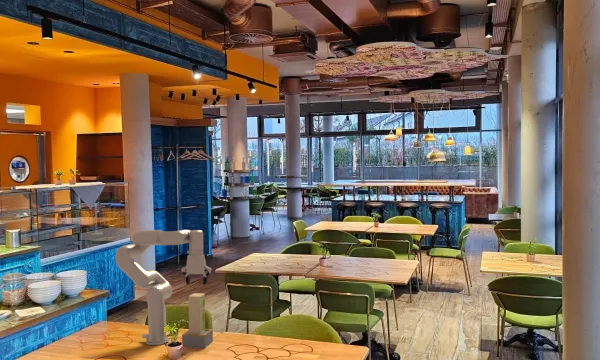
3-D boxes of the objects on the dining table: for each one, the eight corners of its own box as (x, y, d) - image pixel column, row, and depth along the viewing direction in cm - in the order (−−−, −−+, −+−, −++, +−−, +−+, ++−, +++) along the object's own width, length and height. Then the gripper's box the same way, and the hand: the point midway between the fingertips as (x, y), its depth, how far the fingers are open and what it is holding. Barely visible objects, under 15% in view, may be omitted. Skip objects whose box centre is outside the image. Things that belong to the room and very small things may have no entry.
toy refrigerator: (201, 335, 278) (200, 296, 279) (188, 335, 280) (188, 296, 280) (206, 331, 286) (206, 293, 287) (194, 331, 287) (193, 293, 288)
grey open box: (182, 347, 278) (182, 334, 278) (190, 340, 290) (190, 328, 290) (205, 347, 276) (205, 335, 276) (212, 341, 288) (212, 329, 288)
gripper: (178, 253, 282) (178, 285, 281) (208, 253, 279) (209, 285, 278) (184, 251, 289) (184, 282, 289) (213, 252, 286) (213, 283, 286)
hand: (196, 284), depth 283 cm, fingers open, 9 cm apart
